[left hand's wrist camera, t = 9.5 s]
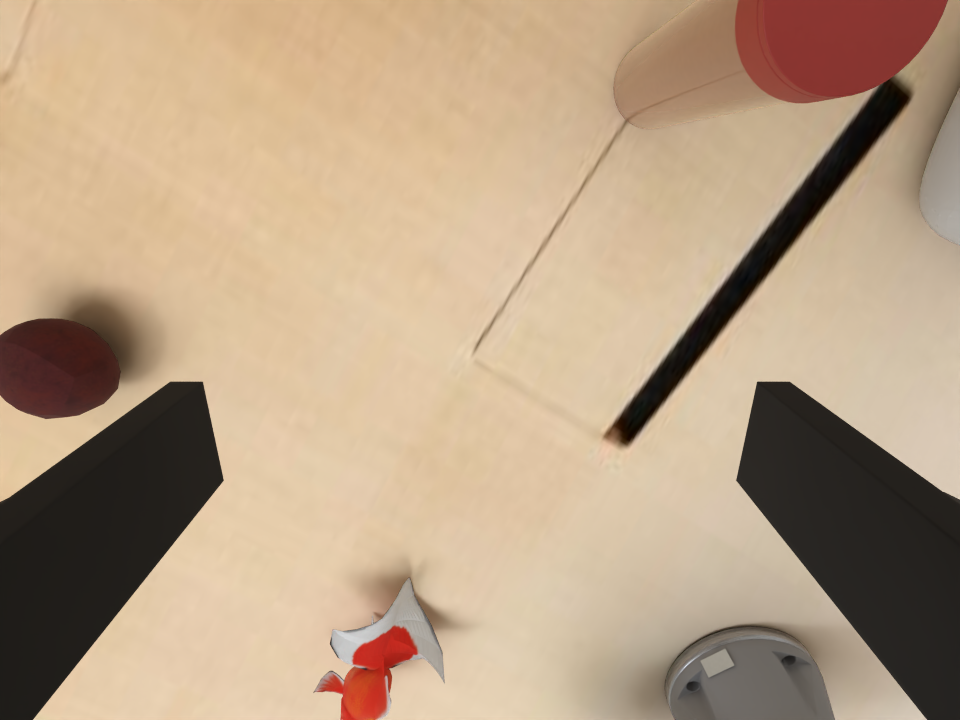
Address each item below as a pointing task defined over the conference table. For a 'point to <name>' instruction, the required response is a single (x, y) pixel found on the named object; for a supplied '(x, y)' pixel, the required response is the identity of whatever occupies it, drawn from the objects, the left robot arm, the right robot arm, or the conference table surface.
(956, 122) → the projector
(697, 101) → the jar
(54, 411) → the dark maroon ball
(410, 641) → the fish
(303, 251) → the conference table surface
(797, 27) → the lid
